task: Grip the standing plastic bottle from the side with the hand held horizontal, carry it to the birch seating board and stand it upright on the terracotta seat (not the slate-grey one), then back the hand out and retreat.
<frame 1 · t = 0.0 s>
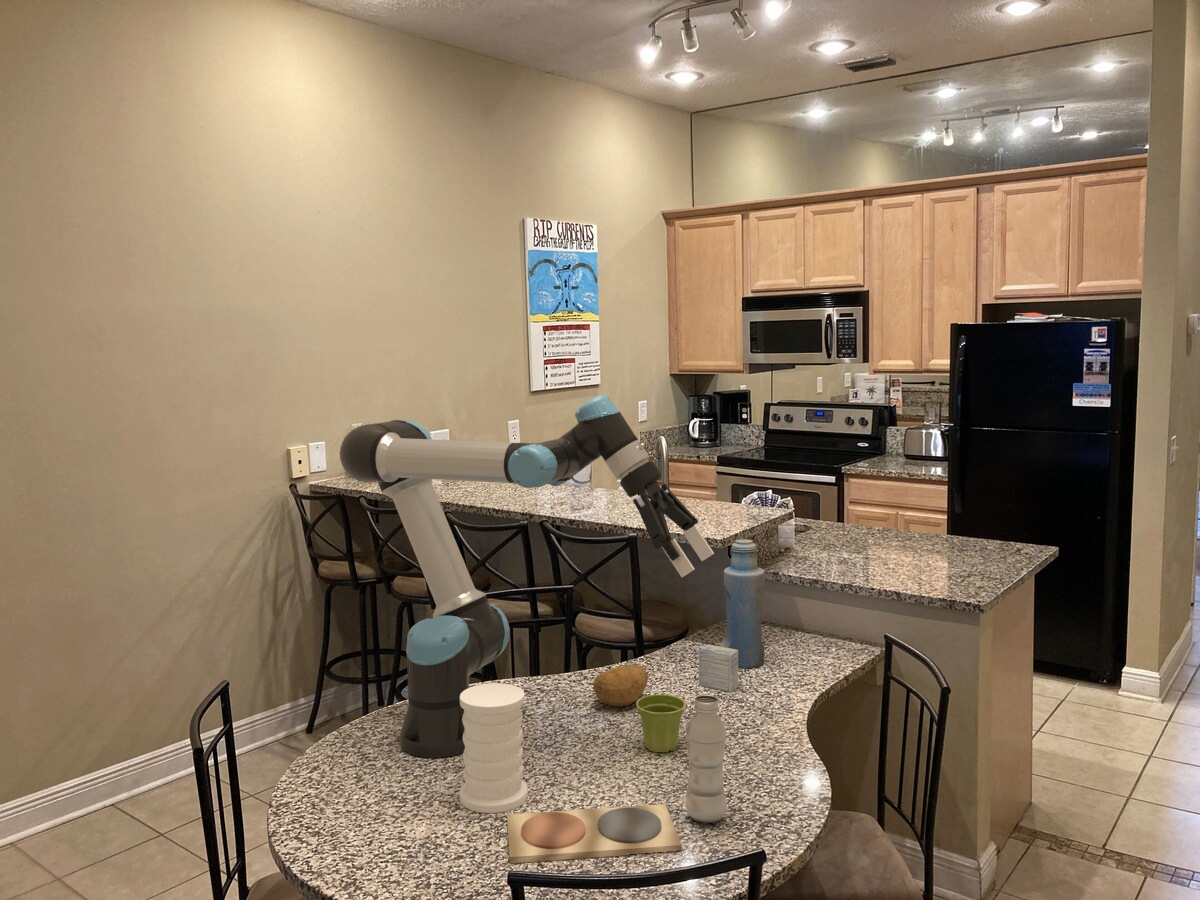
hand: (698, 565, 175), 36 cm above the table, tool tilted 35°, fingers open, 13 cm apart
plastic bottle: (705, 819, 154), on the table
bottle: (743, 663, 229), on the table
medicine box: (718, 687, 213), on the table
decorative container: (493, 797, 162), on the table
seating board: (591, 835, 149), on the table
plant pot: (660, 747, 181), on the table
potato: (622, 704, 204), on the table
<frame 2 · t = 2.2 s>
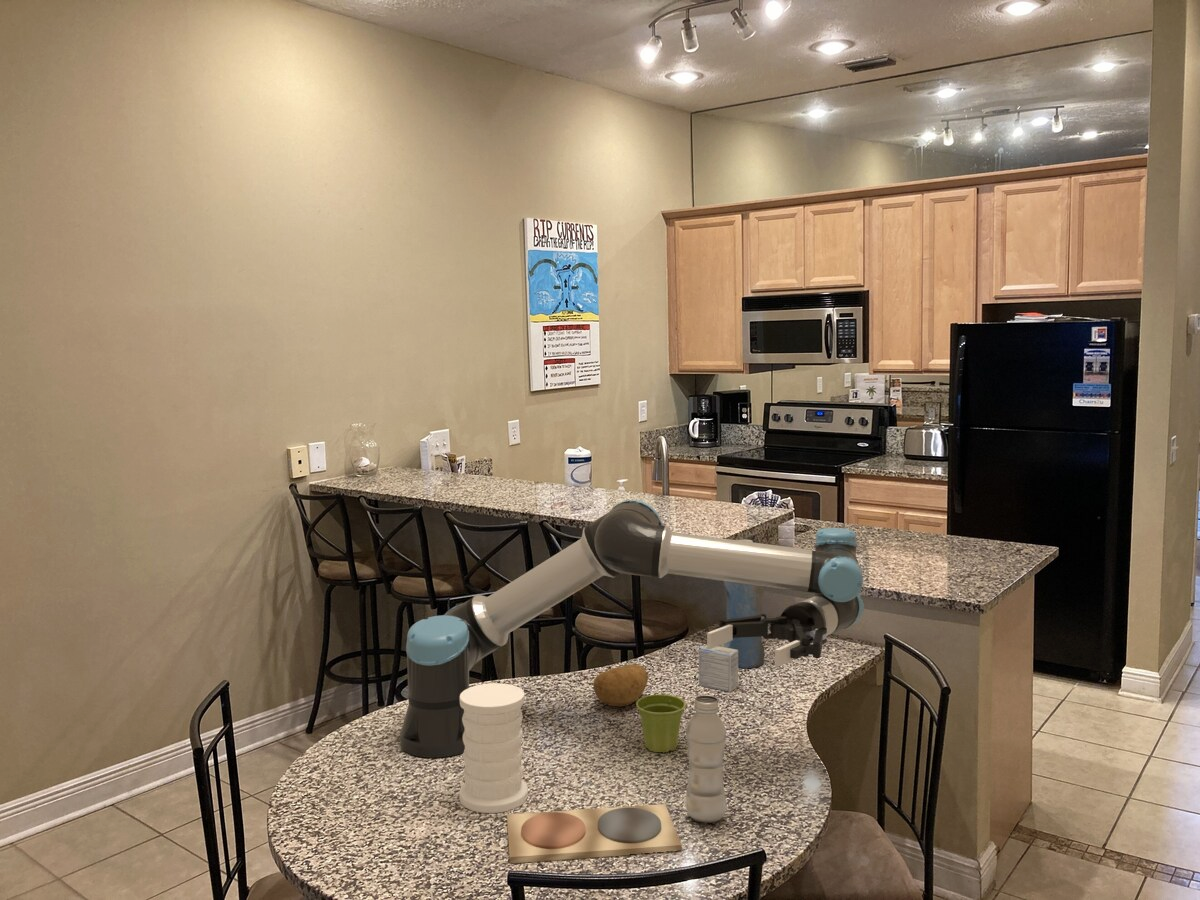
hand: (741, 649, 158), 26 cm above the table, tool horizontal, fingers open, 13 cm apart
nothing on the table moved.
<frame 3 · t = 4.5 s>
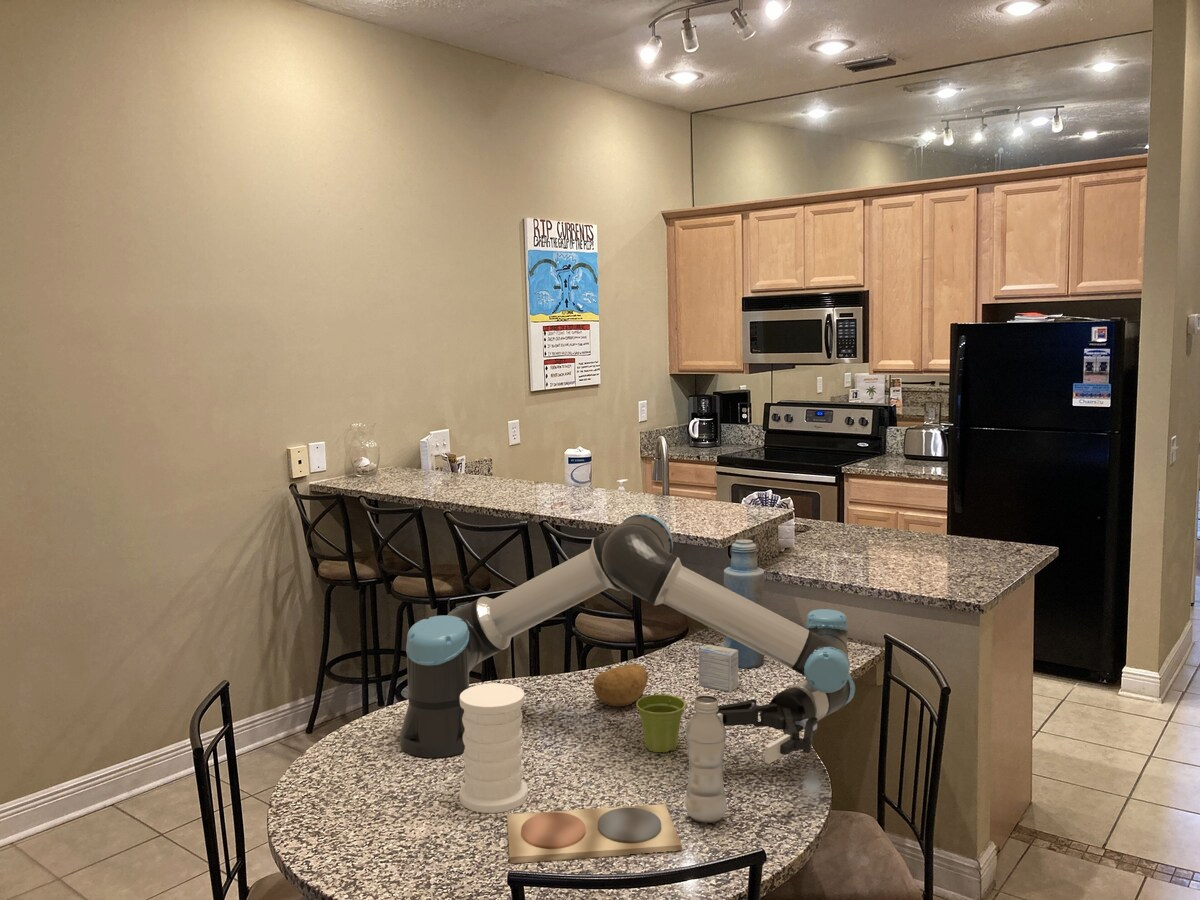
hand: (731, 743, 157), 11 cm above the table, tool horizontal, fingers open, 13 cm apart
nothing on the table moved.
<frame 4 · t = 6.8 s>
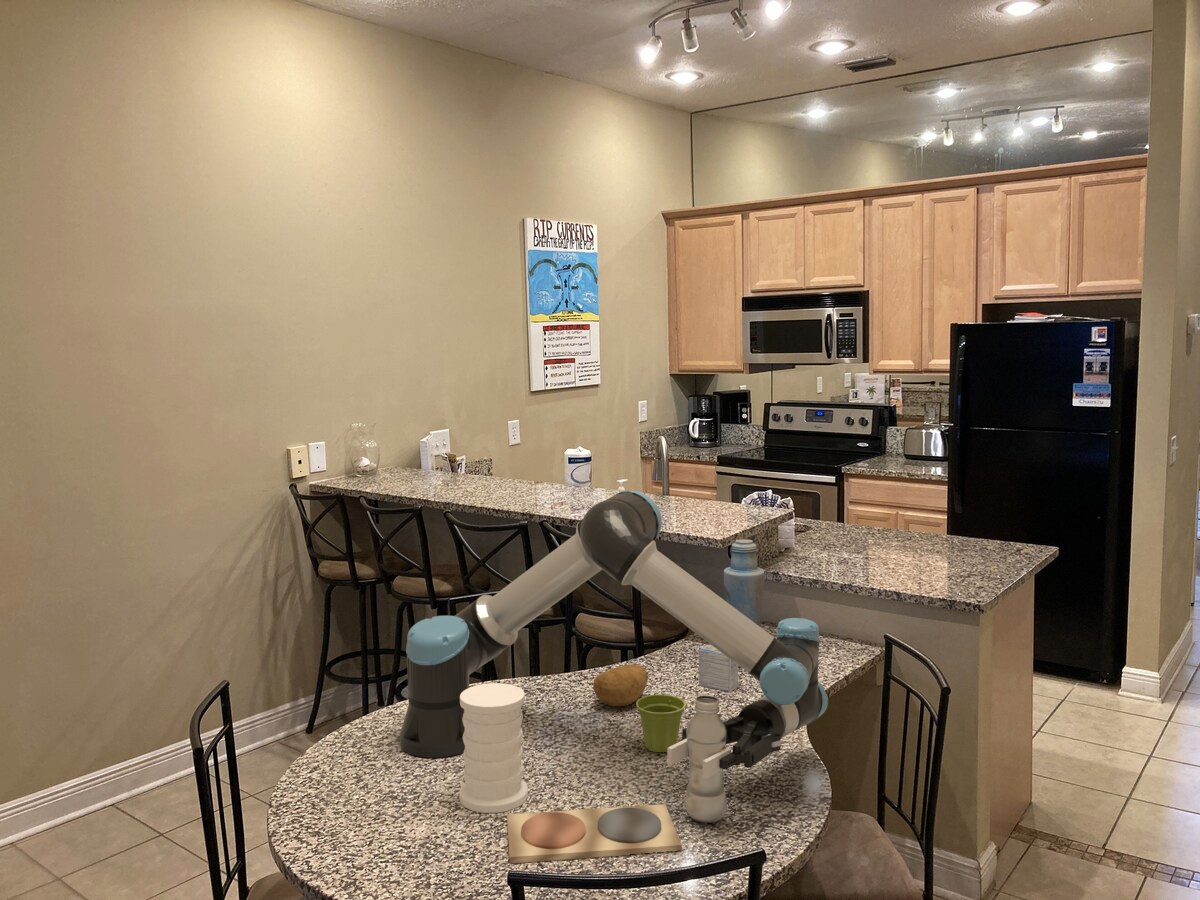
hand: (686, 763, 149), 11 cm above the table, tool horizontal, fingers closed on plastic bottle, 6 cm apart
plastic bottle: (705, 818, 154), on the table, touching gripper
everything else where it was.
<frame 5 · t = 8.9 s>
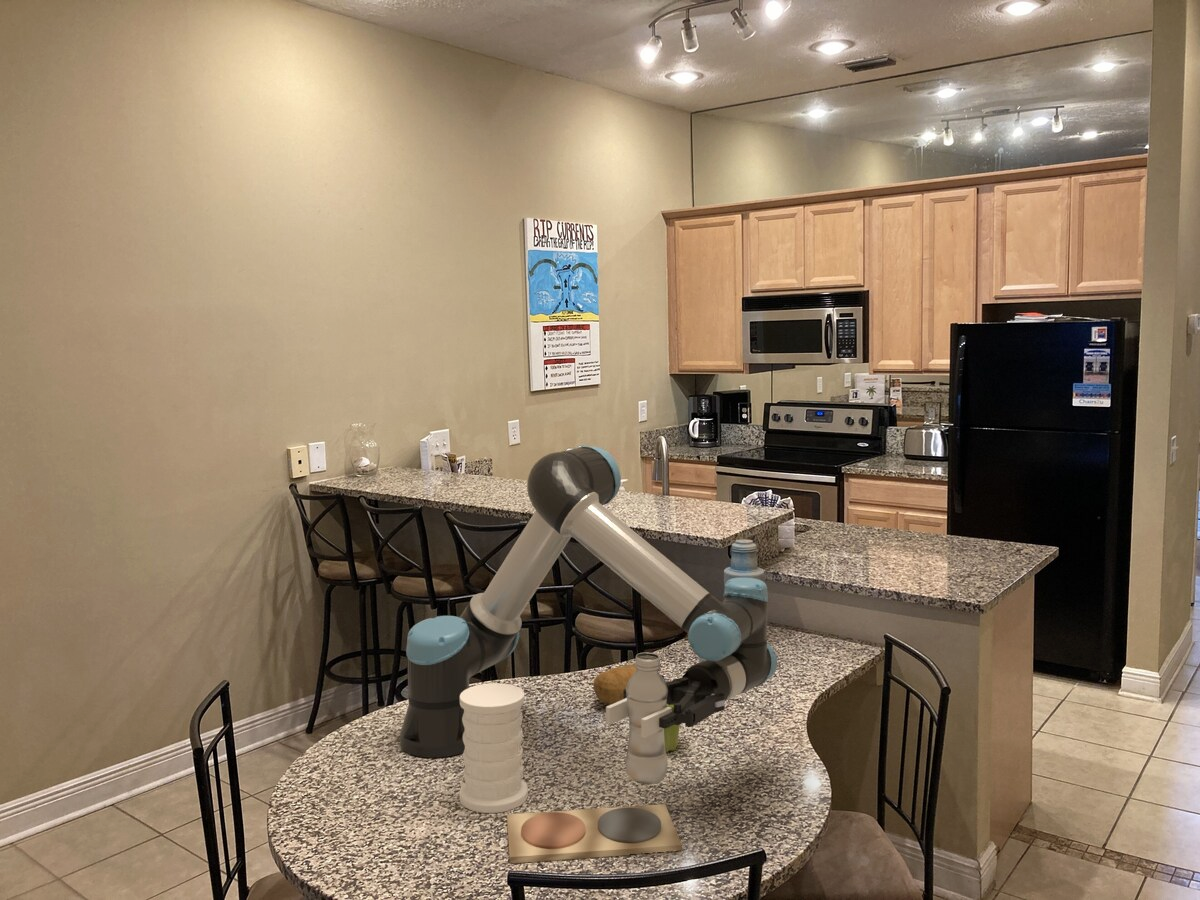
hand: (625, 721, 143), 20 cm above the table, tool horizontal, fingers closed on plastic bottle, 6 cm apart
plastic bottle: (646, 781, 148), point 9 cm above the table, touching gripper
everything else where it was.
when the fingers open (14 cm above the table, at t = 11.2 s): plastic bottle drops 2 cm, resting on seating board.
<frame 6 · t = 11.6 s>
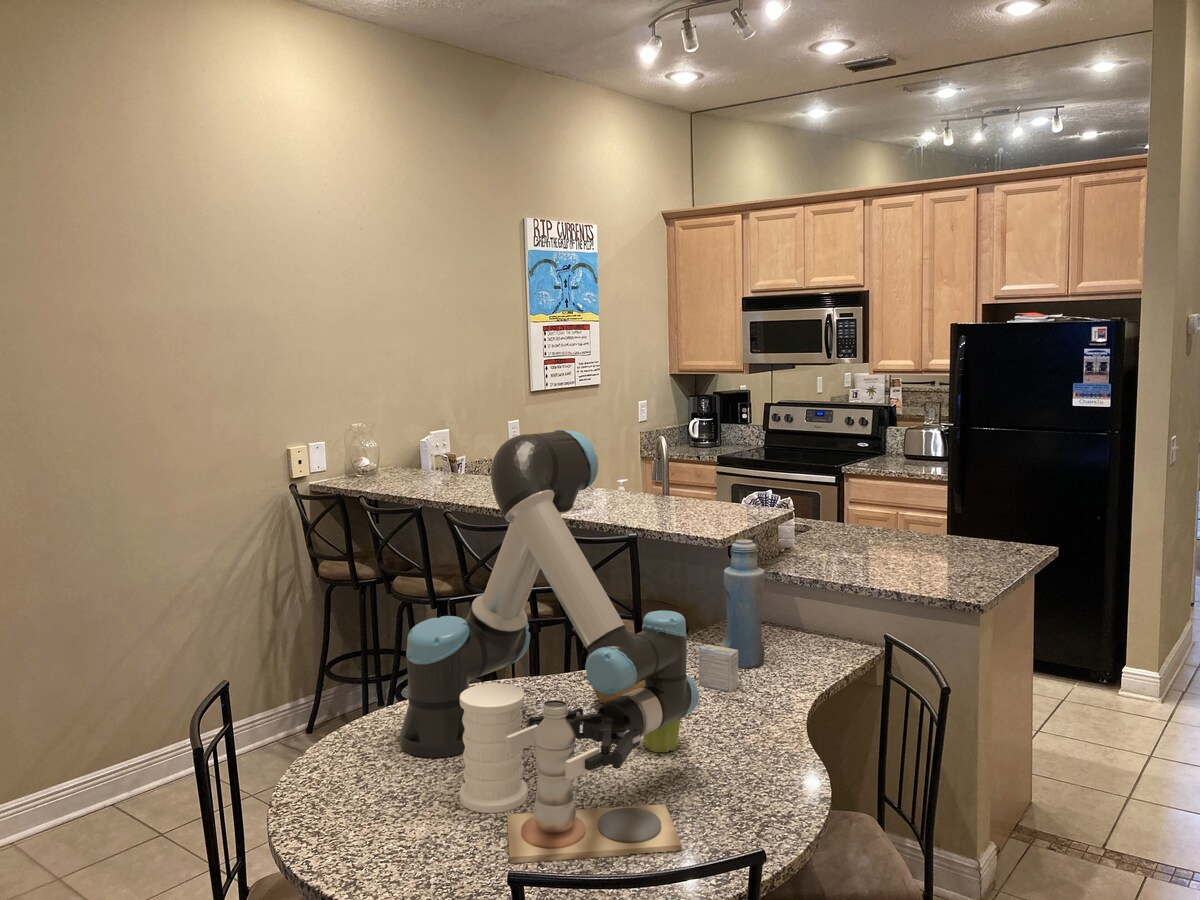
hand: (536, 757, 144), 14 cm above the table, tool horizontal, fingers open, 12 cm apart
plastic bottle: (554, 829, 148), point 1 cm above the table, touching seating board
everything else where it was.
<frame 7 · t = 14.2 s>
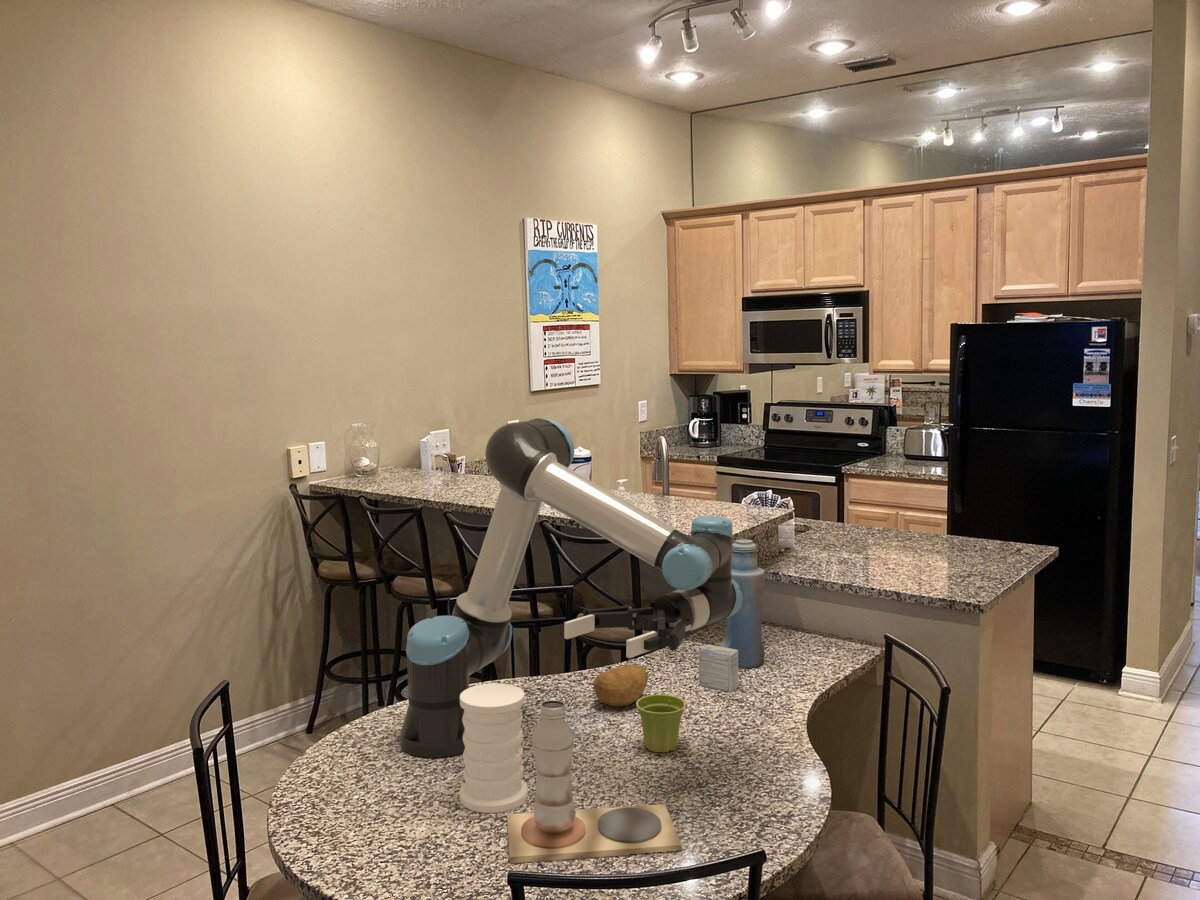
hand: (595, 639, 152), 30 cm above the table, tool horizontal, fingers open, 13 cm apart
nothing on the table moved.
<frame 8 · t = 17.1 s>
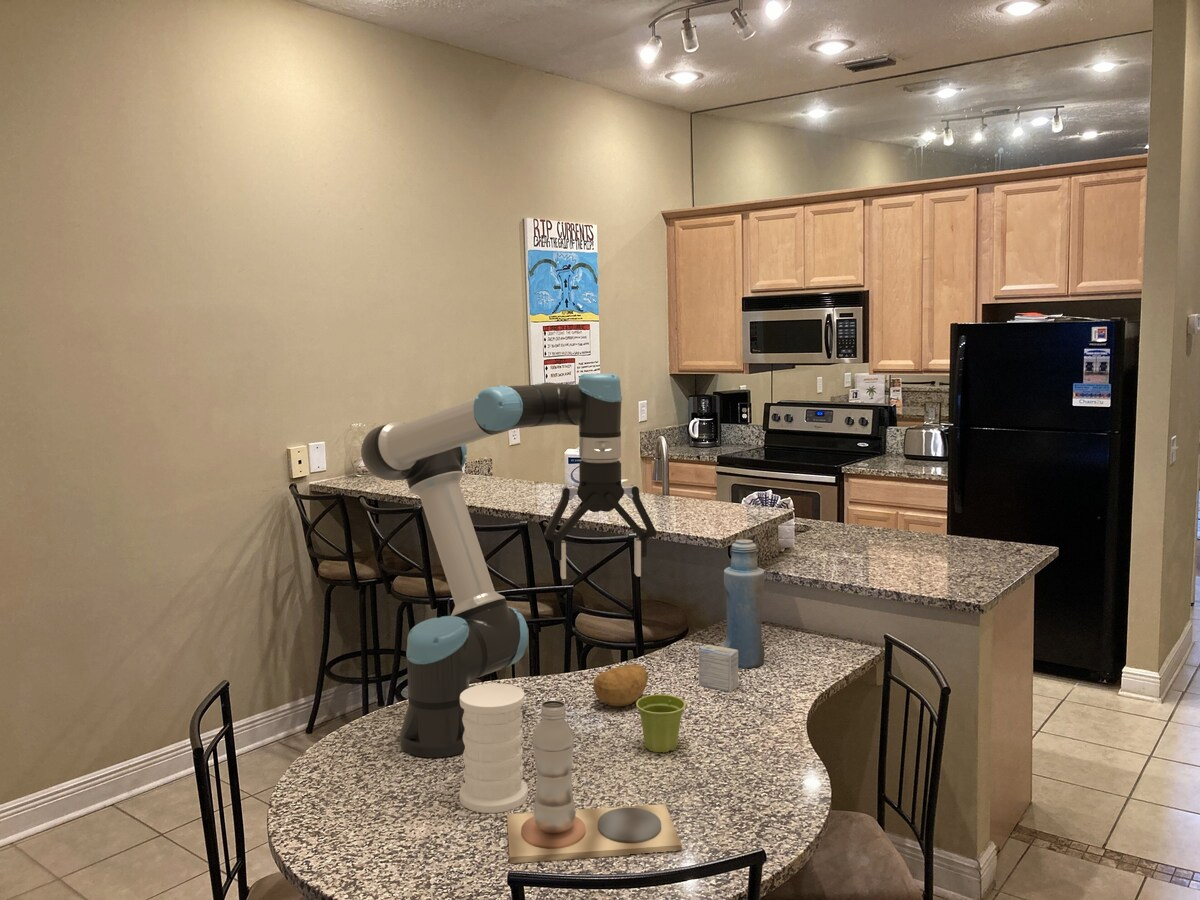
hand: (600, 576, 172), 35 cm above the table, tool pointing down, fingers open, 13 cm apart
nothing on the table moved.
at the end: plastic bottle inside the target area (0.2 cm from its centre), point 1.4 cm above the table; plastic bottle tilted 0°; the gripper is holding nothing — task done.
